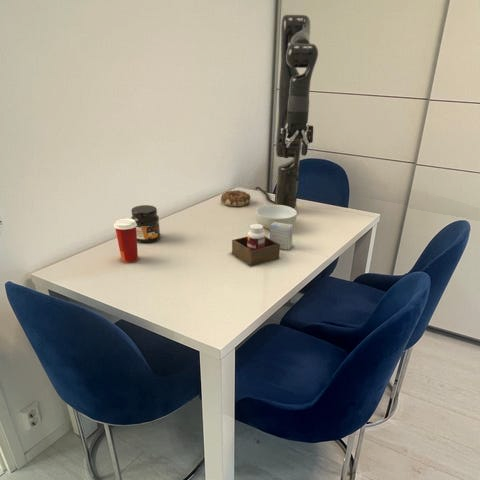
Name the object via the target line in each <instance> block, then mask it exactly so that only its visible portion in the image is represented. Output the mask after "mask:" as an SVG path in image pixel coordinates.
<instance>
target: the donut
mask: <svg viewBox="0 0 480 480" xmlns="http://www.w3.org/2000/svg"><path fill="white" fill-rule="evenodd" d="M250 200H251V195H250V194H249V193H247V192H246V191H244V190H243V191H242V190H238V189H237V190H227V191H225V192H222V194H221V196H220V201H221V203H223V204H224V206H225V205H226V206H228V207H229V206H230V207H243V206H245V205H247V204H248V203H250Z"/></svg>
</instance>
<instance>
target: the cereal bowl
mask: <svg viewBox="0 0 480 480" xmlns="http://www.w3.org/2000/svg"><path fill="white" fill-rule="evenodd" d="M297 217H298V211H297V209H296V210H295V209H293V208H291V207H288V206H284V205H275V204H266V205H261V206H258V207H257V208H256V210H255V218H256V221H257V222H258V224H261V225H263V228H266V229H267V230H270V225H271V224H272V223H274V222H278V223H285V224H290V225H293V226H294V224H295V223H296V220H297Z"/></svg>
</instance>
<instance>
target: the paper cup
mask: <svg viewBox="0 0 480 480" xmlns="http://www.w3.org/2000/svg"><path fill="white" fill-rule="evenodd" d="M136 226H137V224H136V222H135V220H133V219H131V218H121V219H120V218H119V219H117V220H116V221H114V224H113V227H114V230H115V235H116V239H117V244H118V249H119V253H120V258H121V261H122V262H123V263H127V264H129V263H131V264H132V263H135V262H137V261H138V259H139V258H138V256H139V255H138V253H139V252H138V242H137V233H136Z"/></svg>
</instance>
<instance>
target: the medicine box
mask: <svg viewBox="0 0 480 480" xmlns="http://www.w3.org/2000/svg"><path fill="white" fill-rule="evenodd" d="M293 236H294V224H293V225H290V224H285V223H278V222H274V223H272V224H271V225H270V229H269V237H268V238H269V239H271V240H273V241H275V242H276V243H278V244H280V250H287V251H289V250H290V249H291V248H292V247H293Z"/></svg>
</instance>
